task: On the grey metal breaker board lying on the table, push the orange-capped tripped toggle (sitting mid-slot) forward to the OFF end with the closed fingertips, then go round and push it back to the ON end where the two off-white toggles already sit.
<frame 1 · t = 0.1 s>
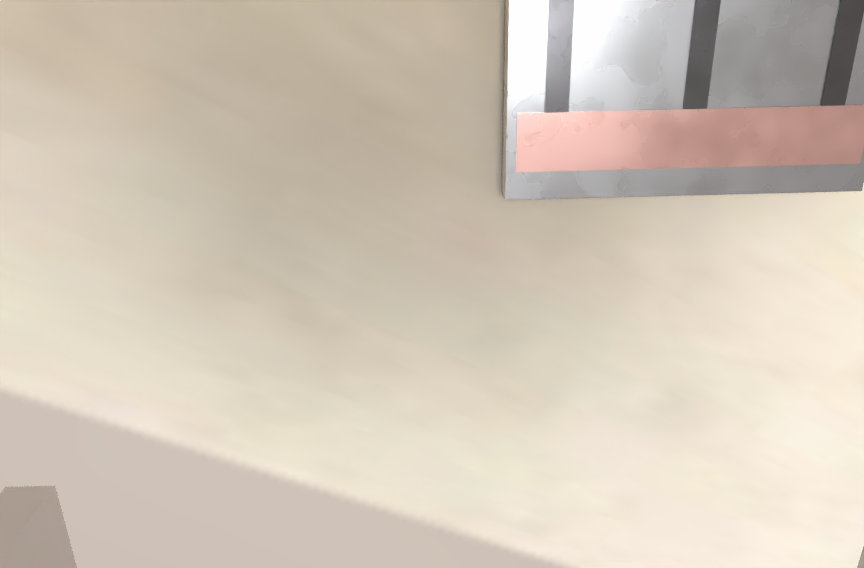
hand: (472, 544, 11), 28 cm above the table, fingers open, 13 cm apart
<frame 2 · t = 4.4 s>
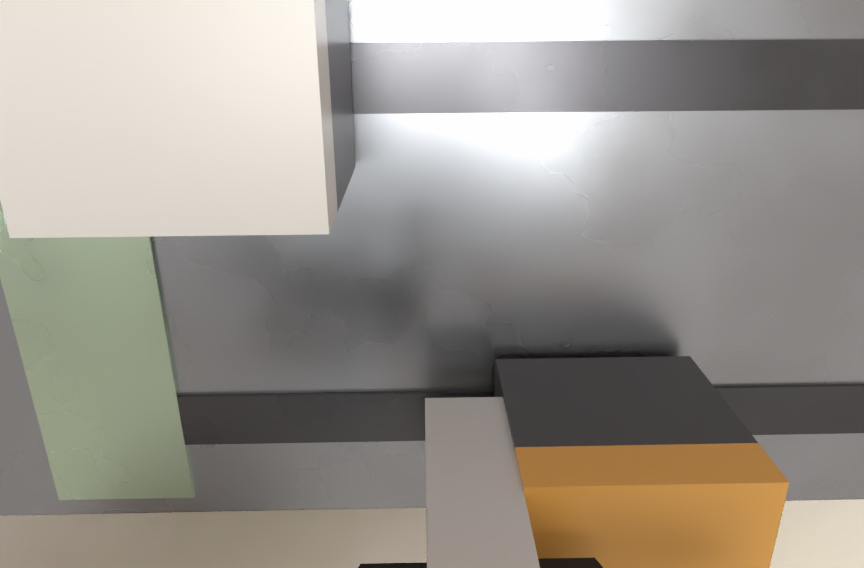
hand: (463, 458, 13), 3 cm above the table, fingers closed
panel: (560, 69, 14), on the table
breaker a: (200, 94, 10), point 4 cm above the table, slide at 6.0 cm
breaker tripped: (612, 480, 13), point 4 cm above the table, slide at -0.7 cm, touching gripper
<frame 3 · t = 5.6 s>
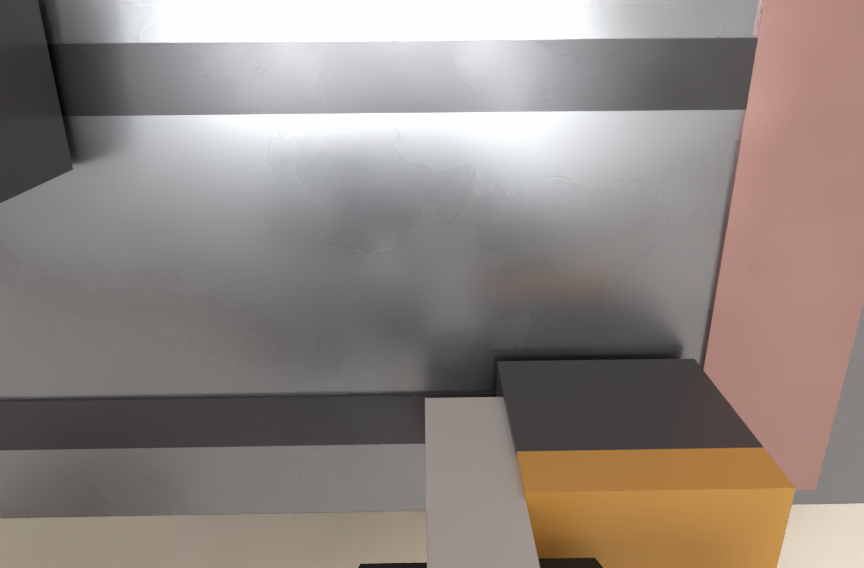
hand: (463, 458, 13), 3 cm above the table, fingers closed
panel: (307, 70, 13), on the table
breaker tripped: (615, 484, 12), point 4 cm above the table, slide at -5.7 cm, touching gripper
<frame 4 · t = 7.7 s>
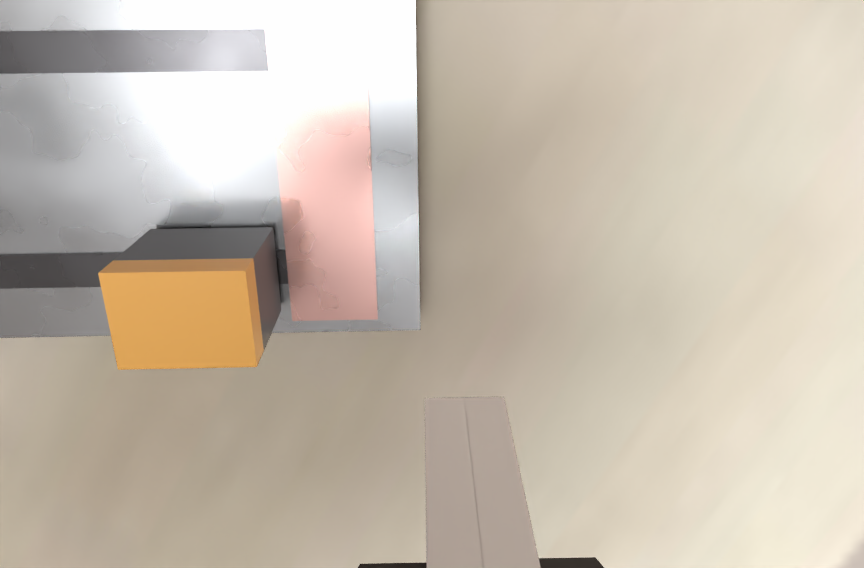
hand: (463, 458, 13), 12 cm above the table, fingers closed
panel: (27, 49, 22), on the table
breaker tripped: (200, 293, 21), point 4 cm above the table, slide at -5.7 cm
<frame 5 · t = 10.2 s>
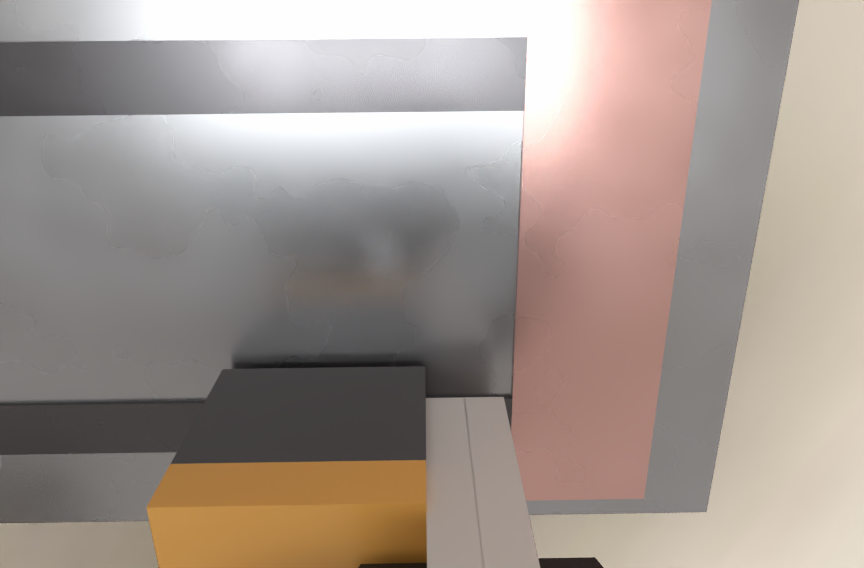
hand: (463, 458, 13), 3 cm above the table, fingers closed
panel: (98, 70, 13), on the table
breaker tripped: (314, 496, 12), point 4 cm above the table, slide at -4.2 cm, touching gripper
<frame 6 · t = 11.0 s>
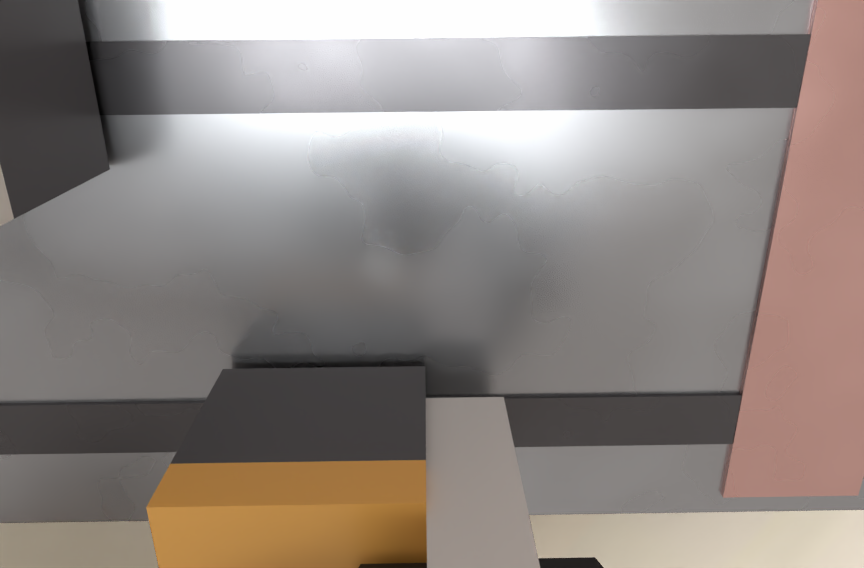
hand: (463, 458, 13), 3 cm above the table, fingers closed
panel: (345, 68, 13), on the table
breaker tripped: (314, 496, 12), point 4 cm above the table, slide at 0.5 cm, touching gripper
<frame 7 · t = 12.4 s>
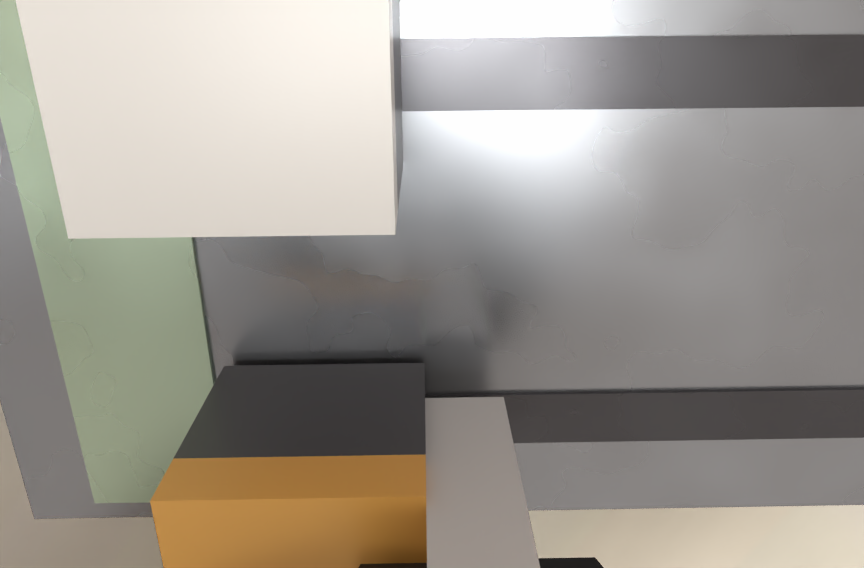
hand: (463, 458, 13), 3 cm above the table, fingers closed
panel: (607, 65, 13), on the table
breaker a: (256, 91, 10), point 4 cm above the table, slide at 6.0 cm
breaker tripped: (315, 491, 12), point 4 cm above the table, slide at 5.7 cm, touching gripper
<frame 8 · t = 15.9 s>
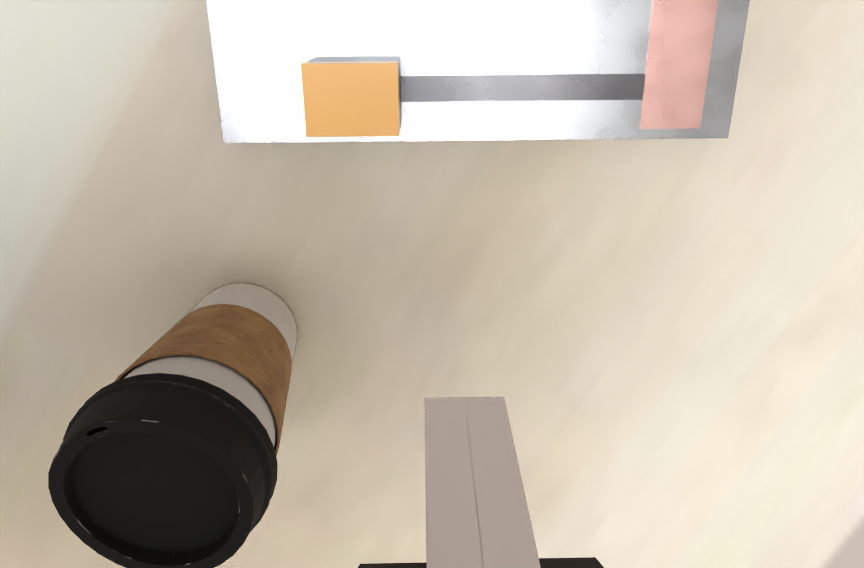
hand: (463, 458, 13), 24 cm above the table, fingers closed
coffee cup: (247, 328, 39), on the table
breaker tripped: (355, 95, 30), point 4 cm above the table, slide at 5.7 cm
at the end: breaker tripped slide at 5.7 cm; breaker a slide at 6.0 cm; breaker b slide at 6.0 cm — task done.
